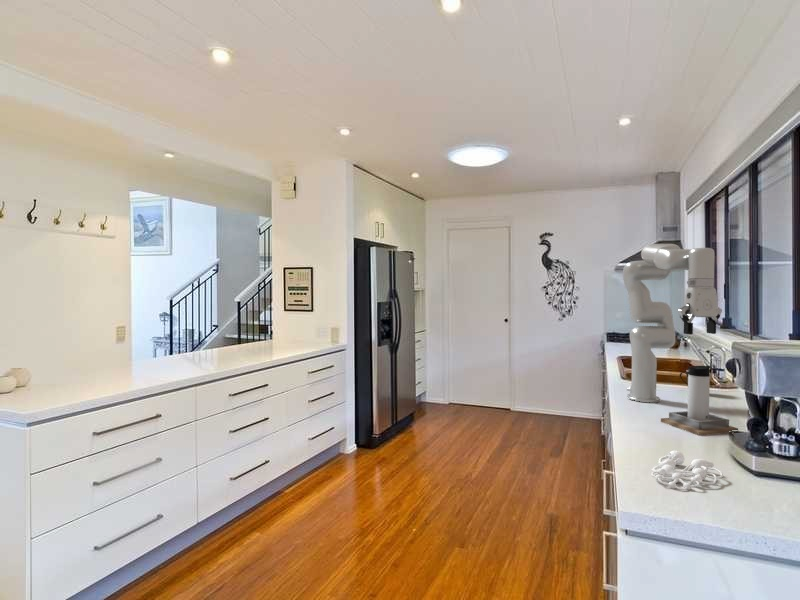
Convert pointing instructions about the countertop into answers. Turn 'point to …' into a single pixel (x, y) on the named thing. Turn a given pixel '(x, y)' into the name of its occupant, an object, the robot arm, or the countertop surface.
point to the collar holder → (698, 423)
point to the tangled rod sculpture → (683, 471)
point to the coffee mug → (686, 374)
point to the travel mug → (698, 392)
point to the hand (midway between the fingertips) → (699, 333)
